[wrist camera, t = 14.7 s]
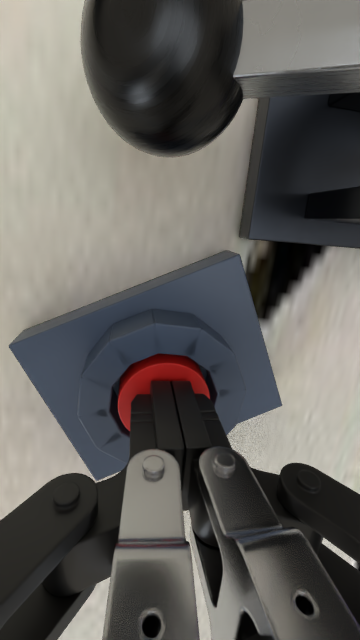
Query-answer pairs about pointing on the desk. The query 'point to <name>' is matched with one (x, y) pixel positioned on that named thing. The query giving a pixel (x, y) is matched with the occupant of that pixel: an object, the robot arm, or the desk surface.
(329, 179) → the switch bracket
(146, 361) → the stop button
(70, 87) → the desk surface
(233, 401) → the button box
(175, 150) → the switch lever
